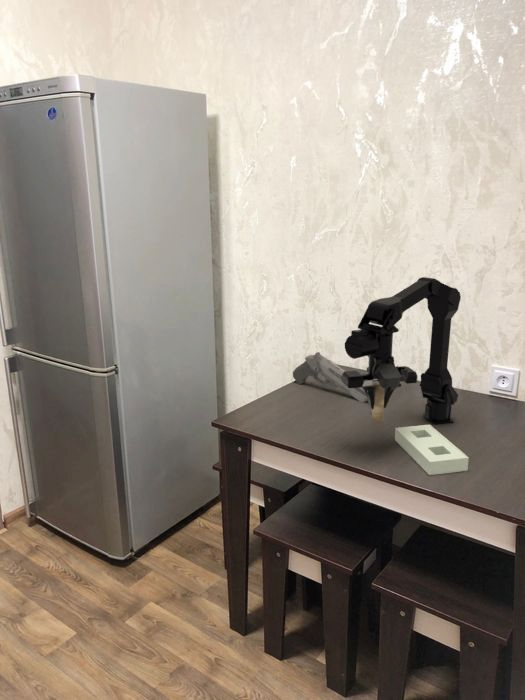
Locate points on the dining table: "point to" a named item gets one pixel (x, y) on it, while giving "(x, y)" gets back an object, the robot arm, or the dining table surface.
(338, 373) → the handgun
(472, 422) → the dining table surface
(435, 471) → the socket block
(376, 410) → the dowel
